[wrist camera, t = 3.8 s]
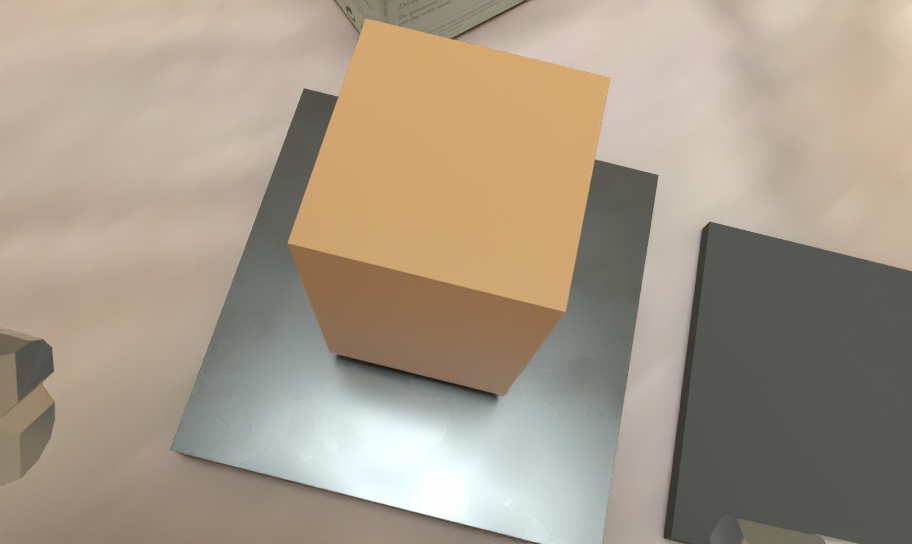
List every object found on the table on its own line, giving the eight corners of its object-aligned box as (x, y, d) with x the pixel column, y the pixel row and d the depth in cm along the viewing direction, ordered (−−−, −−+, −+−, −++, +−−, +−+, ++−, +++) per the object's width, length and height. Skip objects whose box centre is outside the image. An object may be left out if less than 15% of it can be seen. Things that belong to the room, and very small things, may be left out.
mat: (663, 537, 21) (671, 538, 20) (702, 229, 24) (709, 221, 24) (1005, 624, 21) (1022, 626, 20) (995, 300, 24) (1009, 295, 24)
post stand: (180, 453, 21) (29, 396, 12) (307, 105, 25) (259, -116, 16) (590, 557, 21) (722, 571, 12) (648, 188, 25) (777, 8, 16)
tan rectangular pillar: (329, 352, 20) (287, 242, 13) (377, 195, 22) (365, 18, 14) (503, 395, 20) (565, 311, 13) (538, 235, 22) (610, 77, 14)
